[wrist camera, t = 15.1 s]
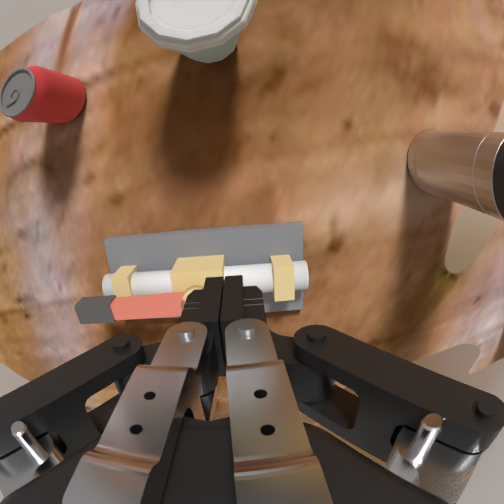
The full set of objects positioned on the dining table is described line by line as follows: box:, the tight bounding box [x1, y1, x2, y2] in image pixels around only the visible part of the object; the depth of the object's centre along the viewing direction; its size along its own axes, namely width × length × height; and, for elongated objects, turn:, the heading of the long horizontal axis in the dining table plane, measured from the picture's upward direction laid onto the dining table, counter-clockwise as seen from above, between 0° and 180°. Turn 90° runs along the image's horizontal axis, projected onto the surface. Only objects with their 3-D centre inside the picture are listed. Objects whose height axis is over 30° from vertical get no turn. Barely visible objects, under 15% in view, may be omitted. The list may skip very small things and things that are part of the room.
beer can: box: [0, 66, 86, 123], centre depth 27 cm, size 7×7×12 cm
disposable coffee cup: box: [135, 0, 258, 63], centre depth 25 cm, size 11×11×15 cm
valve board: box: [102, 222, 309, 318], centre depth 38 cm, size 26×12×7 cm, turn 94°
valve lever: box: [74, 285, 204, 324], centre depth 34 cm, size 17×3×2 cm, turn 96°
